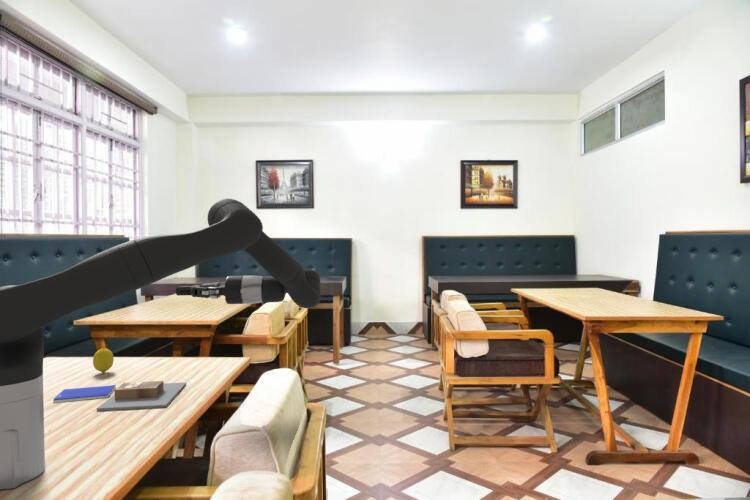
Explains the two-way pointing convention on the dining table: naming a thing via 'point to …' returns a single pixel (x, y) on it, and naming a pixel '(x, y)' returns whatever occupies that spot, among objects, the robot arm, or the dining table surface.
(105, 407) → the grey mat
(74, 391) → the hard drive
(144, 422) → the dining table surface
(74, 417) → the dining table surface
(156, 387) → the brown cardboard box
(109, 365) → the lemon
